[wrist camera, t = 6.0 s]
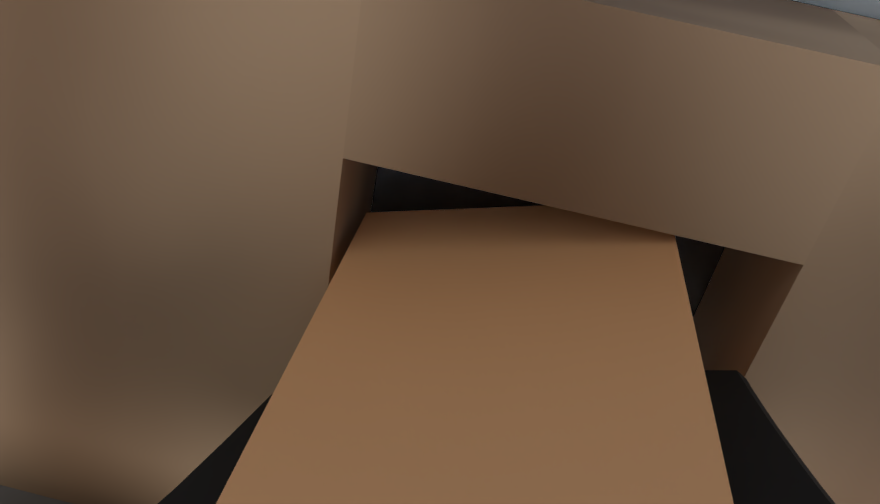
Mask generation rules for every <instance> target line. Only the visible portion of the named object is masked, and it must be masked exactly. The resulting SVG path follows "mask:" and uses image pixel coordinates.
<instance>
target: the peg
mask: <svg viewBox="0 0 880 504" xmlns="http://www.w3.org/2000/svg"><path fill="white" fill-rule="evenodd" d="M216 504H734V503H733V498H732V494H731V489H730V485H729V480H728V475H727V471H726V466H725V462H724V457H723V453H722V448H721V444H720V439H719V434H718V430H717V425H716V421H715V416H714V412H713V407H712V403H711V398H710V393H709V389H708V384H707V380H706V375H705V371H704V366H703V362H702V357H701V353H700V348H699V343H698V339H697V334H696V330H695V325H694V321H693V316H692V312H691V307H690V302H689V298H688V293H687V289H686V284H685V280H684V275H683V271H682V266H681V261H680V257H679V252H678V248H677V243H676V239H675V235H672V234H667V233H663V232H659V231H654V230H650V229H646V228H641V227H637V226H633V225H628V224H624V223H620V222H615V221H611V220H607V219H603V218H598V217H594V216H590V215H585V214H581V213H577V212H572V211H568V210H564V209H559V208H555V207H551V206H547V205H539V206H515V207H490V208H466V209H441V210H417V211H392V212H368V213H366V214H365V216H364V218H363V220H362V222H361V224H360V226H359V228H358V230H357V232H356V234H355V236H354V238H353V240H352V241H351V243H350V245H349V247H348V249H347V251H346V253H345V255H344V257H343V259H342V261H341V263H340V265H339V267H338V269H337V270H336V272H335V274H334V276H333V278H332V280H331V282H330V284H329V286H328V288H327V290H326V292H325V294H324V296H323V298H322V300H321V301H320V303H319V305H318V307H317V309H316V311H315V313H314V315H313V317H312V319H311V321H310V323H309V325H308V327H307V329H306V330H305V332H304V334H303V336H302V338H301V340H300V342H299V344H298V346H297V348H296V350H295V352H294V354H293V356H292V358H291V359H290V361H289V363H288V365H287V367H286V369H285V371H284V373H283V375H282V377H281V379H280V381H279V383H278V385H277V387H276V389H275V390H274V392H273V394H272V396H271V398H270V400H269V402H268V404H267V406H266V408H265V410H264V412H263V414H262V416H261V418H260V419H259V421H258V423H257V425H256V427H255V429H254V431H253V433H252V435H251V437H250V439H249V441H248V443H247V445H246V447H245V449H244V450H243V452H242V454H241V456H240V458H239V460H238V462H237V464H236V466H235V468H234V470H233V472H232V474H231V476H230V478H229V479H228V481H227V483H226V485H225V487H224V489H223V491H222V493H221V495H220V497H219V499H218V501H217V503H216Z"/></svg>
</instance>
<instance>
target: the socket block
mask: <svg viewBox="0 0 880 504" xmlns="http://www.w3.org/2000/svg"><path fill="white" fill-rule="evenodd" d="M377 167H383V168H387V169H391V170H396V171H400V172H404V173H409V174H413V175H417V176H422V177H426V178H430V179H434V180H439V181H443V182H447V183H452V184H456V185H460V186H465V187H469V188H473V189H478V190H482V191H486V192H490V193H495V194H499V195H503V196H508V197H512V198H516V199H521V200H525V201H529V202H534V203H538V204H542V205H547V206H551V207H555V208H559V209H564V210H568V211H572V212H577V213H581V214H585V215H590V216H594V217H598V218H603V219H607V220H611V221H615V222H620V223H624V224H628V225H633V226H637V227H641V228H646V229H650V230H654V231H659V232H663V233H667V234H672V235H676V236H680V237H684V238H689V239H693V240H697V241H702V242H706V243H710V244H715V245H719V246H723V247H725V248H724V250H723V253H722V255H721V257H720V259H719V261H718V264H717V266H716V268H715V270H714V273H713V275H712V277H711V279H710V281H709V284H708V286H707V288H706V290H705V292H704V295H703V297H702V299H701V301H700V304H699V306H698V308H697V310H696V312H695V315H694V317H693V321H694V325H695V330H696V334H697V339H698V343H699V348H700V353H701V357H702V362H703V366H704V370H737V371H738V372H739V373H740V374H742V375H743V376H744V377H745V378H746V379H747V381H748V382H749V384H750V386H751V387H752V389H753V390H754V392H755V394H756V395H757V397H758V398H759V400H760V401H761V403H762V404H763V406H764V407H765V409H766V410H767V412H768V413H769V415H770V416H771V418H772V419H773V421H774V422H775V423H776V425H777V426H778V428H779V429H780V431H781V432H782V433H783V435H784V436H785V438H786V439H787V440H788V442H789V443H790V444H791V446H792V447H793V449H794V450H795V451H796V453H797V454H798V456H799V457H800V458H801V460H802V461H803V462H804V464H805V465H806V466H807V468H808V469H809V470H810V472H811V473H812V474H813V476H814V477H815V478H816V480H817V481H818V482H819V483H820V485H821V486H822V487H823V489H824V490H825V491H826V492H827V494H828V495H829V496H830V497H831V499H832V500H833V501H834V502H835V504H880V20H878V19H874V18H869V17H865V16H860V15H855V14H851V13H846V12H842V11H837V10H832V9H828V8H823V7H819V6H814V5H809V4H805V3H800V2H796V1H791V0H0V504H158V503H159V502H160V501H161V500H162V499H163V498H164V497H166V496H167V495H168V494H169V493H170V492H171V491H172V490H173V489H175V488H176V487H177V486H178V485H179V484H180V483H181V482H182V481H183V480H184V479H185V478H186V477H187V476H188V475H189V474H190V473H191V472H192V471H193V470H195V469H196V468H197V467H198V466H199V465H200V464H201V463H202V462H203V461H204V460H205V459H206V458H207V457H208V456H209V455H210V454H211V453H212V452H213V451H214V450H215V449H216V448H217V447H218V446H220V445H221V444H222V443H223V442H224V441H225V440H226V439H227V438H228V437H229V436H230V435H231V434H232V433H233V432H234V431H235V430H236V429H237V428H238V427H239V426H240V425H241V424H242V423H243V422H244V421H245V420H246V419H247V418H248V417H249V416H250V415H251V414H252V413H253V412H254V411H255V410H256V409H257V408H258V407H259V406H260V405H261V404H262V403H263V402H264V401H265V400H266V399H267V398H268V397H269V396H270V395H271V394H272V393H273V392H274V390H275V389H276V387H277V385H278V383H279V381H280V379H281V377H282V375H283V373H284V371H285V369H286V367H287V365H288V363H289V361H290V359H291V358H292V356H293V354H294V352H295V350H296V348H297V346H298V344H299V342H300V340H301V338H302V336H303V334H304V332H305V330H306V329H307V327H308V325H309V323H310V321H311V319H312V317H313V315H314V313H315V311H316V309H317V307H318V305H319V303H320V301H321V300H322V298H323V296H324V294H325V292H326V290H327V288H328V286H329V284H330V282H331V280H332V278H333V276H334V274H335V272H336V270H337V269H338V267H339V265H340V263H341V261H342V259H343V257H344V255H345V253H346V251H347V249H348V247H349V245H350V243H351V241H352V240H353V238H354V236H355V234H356V232H357V230H358V228H359V226H360V224H361V222H362V220H363V218H364V216H365V214H366V213H368V212H371V209H372V202H373V195H374V188H375V181H376V174H377Z"/></svg>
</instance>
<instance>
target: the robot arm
mask: <svg viewBox="0 0 880 504" xmlns="http://www.w3.org/2000/svg"><path fill="white" fill-rule="evenodd" d="M704 371H705V375H706V380H707V384H708V389H709V393H710V398H711V403H712V407H713V412H714V416H715V421H716V425H717V430H718V434H719V439H720V444H721V448H722V453H723V457H724V462H725V466H726V471H727V475H728V480H729V485H730V489H731V494H732V498H733V503H734V504H835V502H834V501H833V500H832V499H831V497H830V496H829V495H828V494H827V492H826V491H825V490H824V489H823V487H822V486H821V485H820V483H819V482H818V481H817V480H816V478H815V477H814V476H813V474H812V473H811V472H810V470H809V469H808V468H807V466H806V465H805V464H804V462H803V461H802V460H801V458H800V457H799V456H798V454H797V453H796V451H795V450H794V449H793V447H792V446H791V444H790V443H789V442H788V440H787V439H786V438H785V436H784V435H783V433H782V432H781V431H780V429H779V428H778V426H777V425H776V423H775V422H774V421H773V419H772V418H771V416H770V415H769V413H768V412H767V410H766V409H765V407H764V406H763V404H762V403H761V401H760V400H759V398H758V397H757V395H756V394H755V392H754V390H753V389H752V387H751V386H750V384H749V382H748V381H747V379H746V378H745V377H744V376H743V375H742V374H740V373H739V372H738V371H737V370H704ZM272 394H273V393H272ZM272 394H271V395H270V396H269V397H268V398H267V399H266V400H265V401H264V402H263V403H262V404H261V405H260V406H259V407H258V408H257V409H256V410H255V411H254V412H253V413H252V414H251V415H250V416H249V417H248V418H247V419H246V420H245V421H244V422H243V423H242V424H241V425H240V426H239V427H238V428H237V429H236V430H235V431H234V432H233V433H232V434H231V435H230V436H229V437H228V438H227V439H226V440H225V441H224V442H223V443H222V444H221V445H220V446H218V447H217V448H216V449H215V450H214V451H213V452H212V453H211V454H210V455H209V456H208V457H207V458H206V459H205V460H204V461H203V462H202V463H201V464H200V465H199V466H198V467H197V468H196V469H195V470H193V471H192V472H191V473H190V474H189V475H188V476H187V477H186V478H185V479H184V480H183V481H182V482H181V483H180V484H179V485H178V486H177V487H176V488H175V489H173V490H172V491H171V492H170V493H169V494H168V495H167V496H166V497H164V498H163V499H162V500H161V501H160V502H159V503H158V504H216V503H217V501H218V499H219V497H220V495H221V493H222V491H223V489H224V487H225V485H226V483H227V481H228V479H229V478H230V476H231V474H232V472H233V470H234V468H235V466H236V464H237V462H238V460H239V458H240V456H241V454H242V452H243V450H244V449H245V447H246V445H247V443H248V441H249V439H250V437H251V435H252V433H253V431H254V429H255V427H256V425H257V423H258V421H259V419H260V418H261V416H262V414H263V412H264V410H265V408H266V406H267V404H268V402H269V400H270V398H271V396H272Z"/></svg>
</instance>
